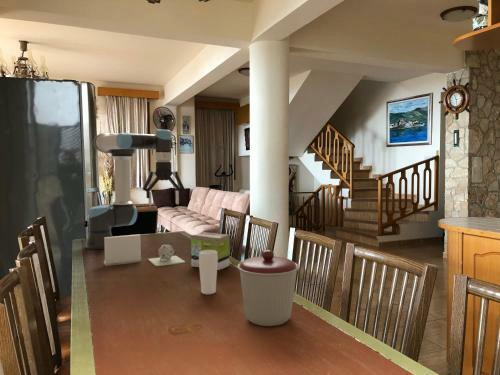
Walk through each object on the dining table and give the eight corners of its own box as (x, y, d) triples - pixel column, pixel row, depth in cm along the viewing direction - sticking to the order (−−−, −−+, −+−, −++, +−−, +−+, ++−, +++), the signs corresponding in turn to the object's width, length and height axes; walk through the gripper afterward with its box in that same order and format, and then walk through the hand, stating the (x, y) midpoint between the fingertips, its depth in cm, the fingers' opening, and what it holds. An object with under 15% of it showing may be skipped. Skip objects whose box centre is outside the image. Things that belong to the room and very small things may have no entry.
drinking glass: (220, 290, 145) (220, 250, 144) (213, 296, 139) (212, 254, 138) (204, 288, 147) (203, 249, 147) (195, 294, 141) (195, 253, 140)
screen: (103, 263, 187) (103, 236, 186) (138, 259, 194) (137, 233, 193) (105, 266, 181) (105, 238, 180) (140, 261, 189) (140, 235, 188)
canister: (262, 304, 131) (262, 241, 129) (310, 318, 119) (310, 249, 118) (225, 321, 117) (224, 251, 115) (275, 338, 105) (274, 260, 104)
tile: (148, 260, 192) (148, 258, 192) (175, 256, 199) (175, 255, 199) (155, 266, 180) (155, 265, 180) (185, 262, 187) (185, 261, 187)
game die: (169, 266, 191) (181, 249, 193) (164, 264, 183) (177, 246, 185) (155, 256, 194) (167, 239, 196) (149, 254, 185) (162, 236, 187)
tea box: (190, 267, 179) (190, 234, 178) (203, 262, 188) (202, 231, 187) (218, 271, 172) (218, 237, 171) (230, 265, 181) (230, 234, 180)
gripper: (139, 161, 184) (139, 206, 186) (190, 161, 196) (190, 204, 197) (136, 161, 191) (136, 204, 192) (185, 161, 202) (185, 202, 204)
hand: (163, 204), depth 195 cm, fingers open, 13 cm apart
